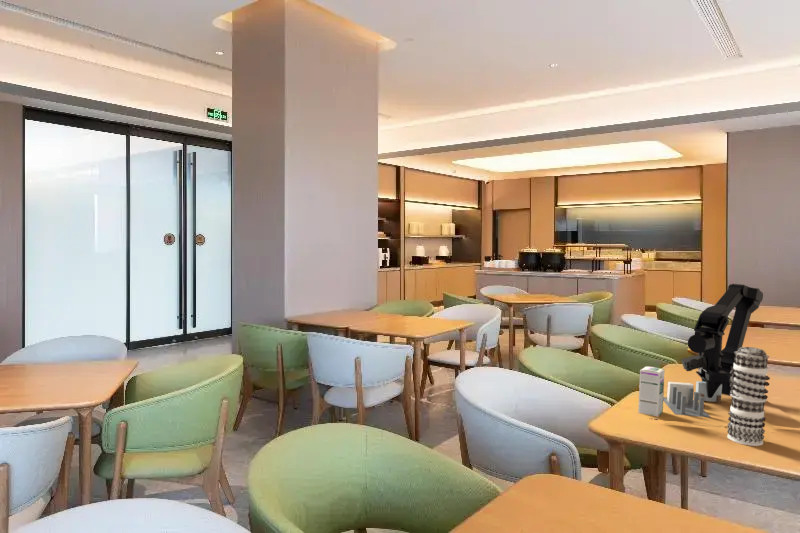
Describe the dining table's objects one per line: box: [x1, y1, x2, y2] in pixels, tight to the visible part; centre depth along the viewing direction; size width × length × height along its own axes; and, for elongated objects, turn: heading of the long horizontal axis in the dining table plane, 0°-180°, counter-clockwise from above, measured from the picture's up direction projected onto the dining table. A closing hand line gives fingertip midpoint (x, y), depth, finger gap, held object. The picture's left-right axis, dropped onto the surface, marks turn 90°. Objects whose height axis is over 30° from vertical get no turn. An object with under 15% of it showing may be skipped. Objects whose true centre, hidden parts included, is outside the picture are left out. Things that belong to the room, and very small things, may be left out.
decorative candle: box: [726, 346, 771, 447], centre depth 153 cm, size 9×9×25 cm
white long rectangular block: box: [695, 380, 723, 403], centre depth 186 cm, size 7×2×6 cm, turn 79°
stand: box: [700, 394, 722, 404], centre depth 186 cm, size 8×6×3 cm
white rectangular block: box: [666, 381, 695, 403], centre depth 183 cm, size 7×2×6 cm, turn 79°
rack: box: [663, 386, 711, 418], centre depth 178 cm, size 10×18×7 cm, turn 169°
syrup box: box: [637, 366, 665, 421], centre depth 171 cm, size 6×6×14 cm
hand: (708, 396), depth 186 cm, fingers closed on white long rectangular block, 2 cm apart
